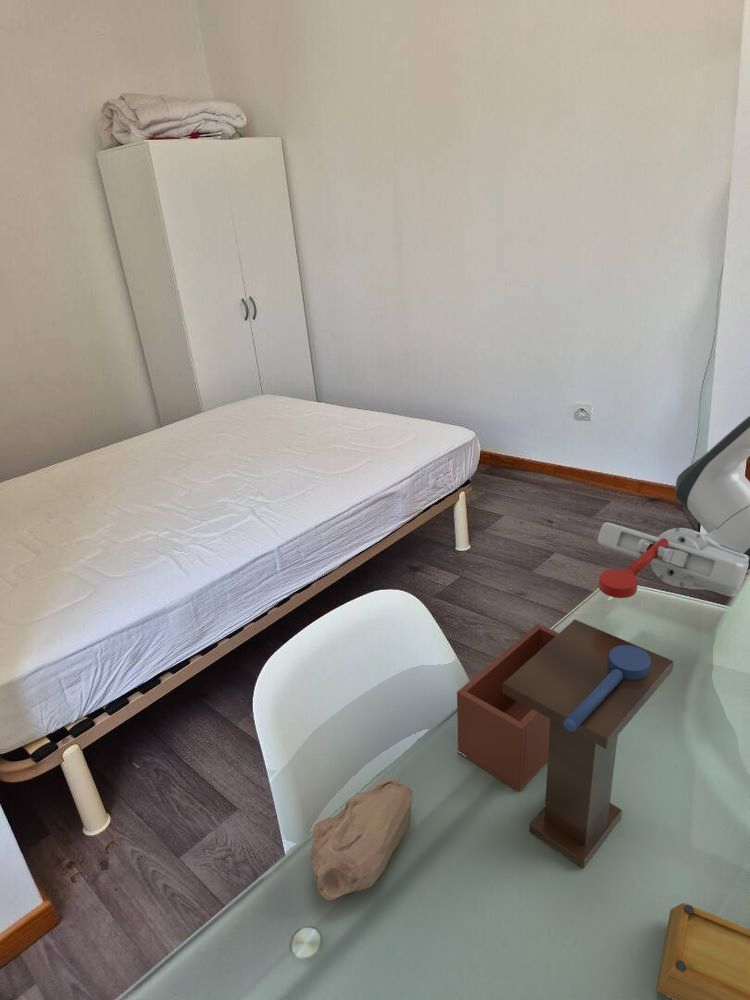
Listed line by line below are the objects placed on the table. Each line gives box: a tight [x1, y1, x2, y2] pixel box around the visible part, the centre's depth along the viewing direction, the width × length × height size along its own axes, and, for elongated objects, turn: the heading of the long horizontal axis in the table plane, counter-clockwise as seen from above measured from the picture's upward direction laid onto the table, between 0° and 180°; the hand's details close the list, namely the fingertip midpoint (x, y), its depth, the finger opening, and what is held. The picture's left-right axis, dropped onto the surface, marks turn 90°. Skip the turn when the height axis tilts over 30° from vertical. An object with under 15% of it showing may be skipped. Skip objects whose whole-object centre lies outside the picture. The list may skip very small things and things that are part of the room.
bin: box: [456, 623, 560, 793], centre depth 104 cm, size 21×11×12 cm, turn 135°
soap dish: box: [656, 902, 750, 1000], centre depth 72 cm, size 12×10×5 cm
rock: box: [309, 777, 413, 901], centre depth 88 cm, size 18×10×10 cm
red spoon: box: [598, 538, 668, 599], centre depth 91 cm, size 16×5×1 cm, turn 135°
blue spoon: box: [564, 645, 651, 731], centre depth 77 cm, size 16×5×1 cm, turn 135°
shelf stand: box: [503, 619, 675, 870], centre depth 86 cm, size 16×13×26 cm
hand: (652, 550), depth 93 cm, fingers closed on red spoon, 1 cm apart
